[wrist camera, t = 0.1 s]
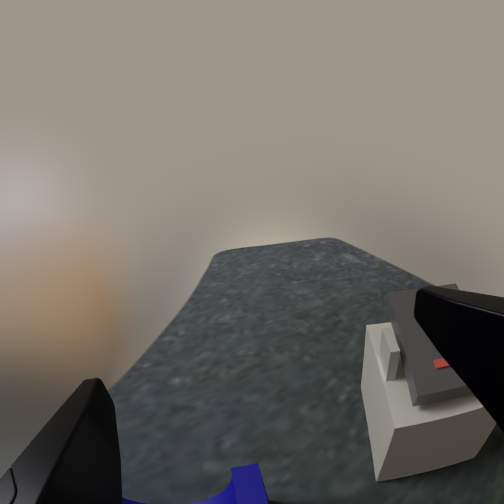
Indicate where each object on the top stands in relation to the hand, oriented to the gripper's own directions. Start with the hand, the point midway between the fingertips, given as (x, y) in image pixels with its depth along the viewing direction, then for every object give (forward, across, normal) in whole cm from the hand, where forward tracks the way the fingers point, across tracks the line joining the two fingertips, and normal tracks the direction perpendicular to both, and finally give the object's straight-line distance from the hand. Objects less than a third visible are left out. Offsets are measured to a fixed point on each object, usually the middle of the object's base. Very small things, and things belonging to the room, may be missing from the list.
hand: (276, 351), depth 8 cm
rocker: (+5, -12, +8) cm, 15 cm away
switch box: (+5, -12, +16) cm, 21 cm away
